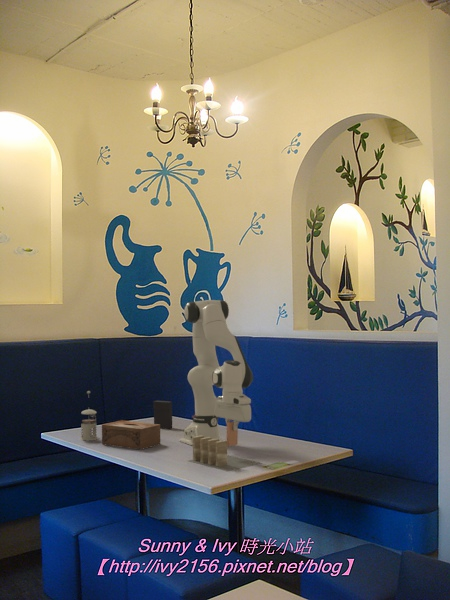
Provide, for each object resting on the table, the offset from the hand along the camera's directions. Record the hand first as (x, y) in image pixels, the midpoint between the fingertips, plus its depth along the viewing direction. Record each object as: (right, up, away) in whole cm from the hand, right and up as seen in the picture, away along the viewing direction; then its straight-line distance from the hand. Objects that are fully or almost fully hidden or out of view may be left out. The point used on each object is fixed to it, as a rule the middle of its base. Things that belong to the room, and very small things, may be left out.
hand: (232, 429), depth 277 cm
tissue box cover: (-50, -16, +39) cm, 65 cm away
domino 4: (-4, -12, -13) cm, 18 cm away
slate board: (-3, -13, -7) cm, 15 cm away
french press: (-74, -16, +55) cm, 93 cm away
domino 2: (-11, -13, -6) cm, 18 cm away
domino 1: (-14, -13, -2) cm, 19 cm away
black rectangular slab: (-38, -16, +84) cm, 94 cm away
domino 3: (-8, -12, -9) cm, 17 cm away
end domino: (0, -7, 0) cm, 7 cm away
